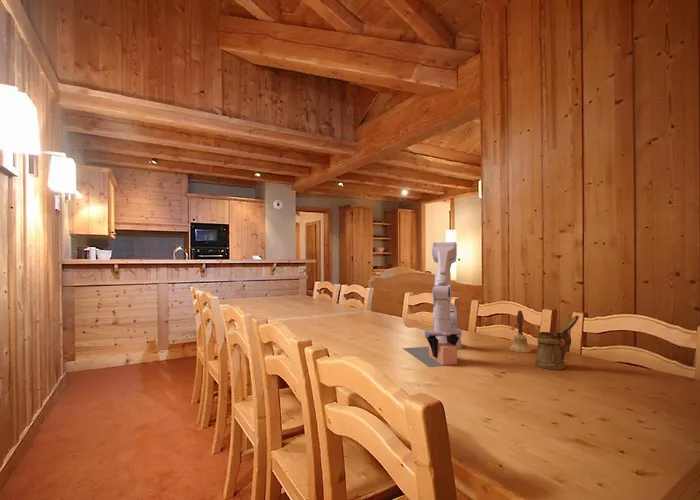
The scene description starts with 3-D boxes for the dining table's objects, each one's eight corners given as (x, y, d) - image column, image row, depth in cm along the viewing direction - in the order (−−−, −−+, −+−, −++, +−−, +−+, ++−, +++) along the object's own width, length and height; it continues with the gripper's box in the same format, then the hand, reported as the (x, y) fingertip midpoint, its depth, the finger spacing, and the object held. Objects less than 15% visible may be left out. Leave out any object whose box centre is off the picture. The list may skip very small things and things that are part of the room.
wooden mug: (582, 373, 115) (582, 317, 115) (536, 368, 120) (535, 315, 120) (577, 365, 123) (576, 313, 123) (533, 361, 128) (532, 311, 128)
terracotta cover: (442, 355, 133) (442, 339, 133) (457, 364, 123) (457, 346, 123) (429, 356, 132) (428, 340, 132) (442, 365, 121) (442, 347, 122)
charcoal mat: (428, 347, 147) (428, 346, 147) (460, 366, 122) (460, 364, 122) (402, 349, 145) (402, 348, 145) (429, 368, 120) (429, 366, 120)
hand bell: (536, 352, 139) (535, 312, 140) (514, 352, 139) (514, 312, 140) (525, 347, 147) (525, 309, 148) (505, 347, 148) (505, 309, 148)
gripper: (428, 321, 122) (428, 360, 122) (466, 319, 125) (466, 357, 125) (420, 317, 129) (420, 355, 129) (456, 316, 132) (456, 352, 132)
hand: (442, 356), depth 127 cm, fingers closed on terracotta cover, 5 cm apart
